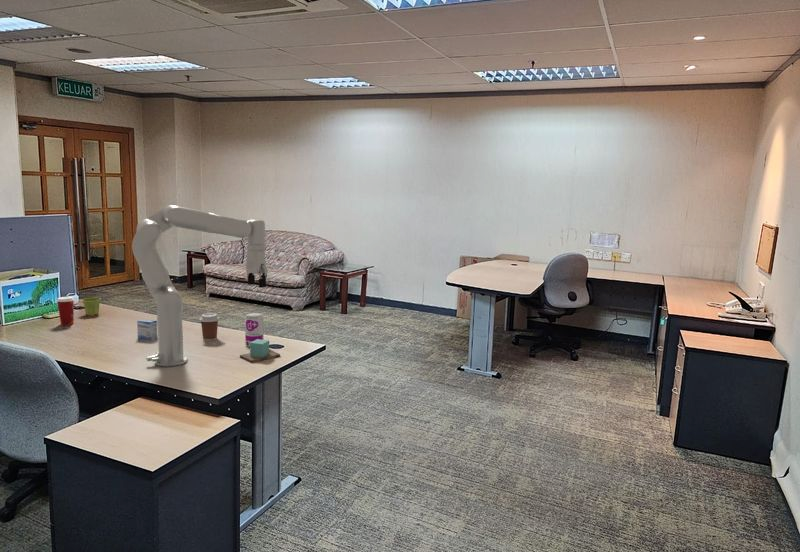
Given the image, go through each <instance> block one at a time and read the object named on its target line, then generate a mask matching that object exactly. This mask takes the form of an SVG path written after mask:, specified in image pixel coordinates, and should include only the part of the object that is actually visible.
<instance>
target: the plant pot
mask: <svg viewBox="0 0 800 552" xmlns="http://www.w3.org/2000/svg"><path fill="white" fill-rule="evenodd" d="M101 301H102V298H101V297H87V298H83V299H81V302H82V304H83V307H84V311H85V312H84V313H85V314H87V315H86V316H90V315H91V316H96V315H99V314H100V313H99V312H100V303H101ZM98 313H99V314H98ZM95 314H96V315H95Z"/></svg>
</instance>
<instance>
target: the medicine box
mask: <svg viewBox="0 0 800 552" xmlns="http://www.w3.org/2000/svg"><path fill="white" fill-rule="evenodd" d="M136 321H137V322H136V323H137V338H138V339H141V338H142V340H154V339H155V340H156V339H158V327H157V320H155V319H154V320H153V319H145V318H144V319H143V318H142V319H139V320H136Z"/></svg>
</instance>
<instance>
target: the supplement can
mask: <svg viewBox="0 0 800 552" xmlns="http://www.w3.org/2000/svg"><path fill="white" fill-rule="evenodd" d="M245 315H246V316H245V317H244V329H245V330H244V332H245V339H244V341H245V342H244V343H245V345H246V346H247V347H248V348H250V343H251V342H252V341H254V340H256V339H260V340H264V316H263V313H260V312H248V313H246V314H245Z"/></svg>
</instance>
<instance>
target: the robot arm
mask: <svg viewBox="0 0 800 552" xmlns="http://www.w3.org/2000/svg"><path fill="white" fill-rule="evenodd" d="M173 227H175V228H181V229H187V230H192V231H198V232H202V233H203V232H204V233H209V234H217V235H223V236H229V237H235V238H240V239H244V238H247V252H246V259H245V260H246V262H245V270H246V275H247V285H255V283H256V282H255V281H256V280H255V279H256V278H255V277H256V276H255V275H258V278H259V279H258V288H266V287H267V277H268V272H269V270H268V268H267V259H266V223H265V220H263V219H240V218H233V217H228V216H224V215H223V216H222V215H220V214H215V213H213V212H209V211H206V210H205V211H204V210H201V209H194V208H189V207H183V206H179V205H175V204H174V205H173V204H169V205H166V206H165V207H163V208H161V209H160V210H158V211H156V212H155V213H154V212H153V214H151V215H149V216H147V217H146V218H144V219H142V220H140V222H138V224H137V226H136V233H135V234H134V236H133V239H132V246H131V248H132V253H133V256H134V258H135V260H136V262H137V265H138V267H139V269H140V271H141V278H142V279H143V282H144V284H145V286H146V288H147V289H148V292H149V294H150V295H151V297H152V299H153V301H154V302H155V304H156V308H157V309H156V318H157V319H156V321H157V343H158V351H157V352H156V354H154V355H149V356H146V362H153V363H154V364H155V365H156V366H158V367H177V366H181V365H184V364H185V363H187V362H188V357H187V356H185V355H184V339H183V338H184V336H183V334H184V332H183V305H184V304H183V298H182V295H181V293H180V292H179V291H178V290H177V289H176V288H175V286H174V284H173V282H172V280H171V279H170V273H169V270H168V269H167V267H166V266H165V264H164V263H163V260H162V259H161V256H160V254H159V252H158V250H157V249H158V248H157V242H158V241H159V239H160V238H161V236H162V234H163V233H164V232H166V231H168V230H170V229H172V228H173Z"/></svg>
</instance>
